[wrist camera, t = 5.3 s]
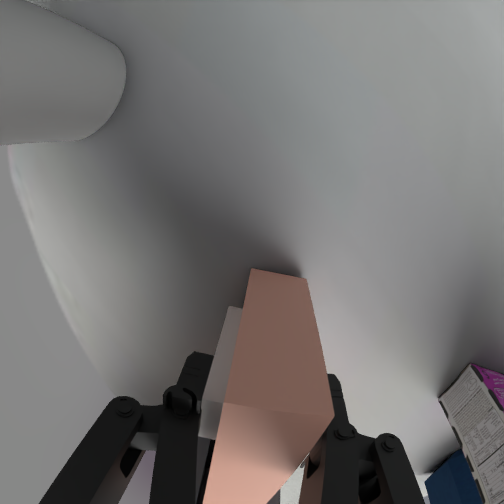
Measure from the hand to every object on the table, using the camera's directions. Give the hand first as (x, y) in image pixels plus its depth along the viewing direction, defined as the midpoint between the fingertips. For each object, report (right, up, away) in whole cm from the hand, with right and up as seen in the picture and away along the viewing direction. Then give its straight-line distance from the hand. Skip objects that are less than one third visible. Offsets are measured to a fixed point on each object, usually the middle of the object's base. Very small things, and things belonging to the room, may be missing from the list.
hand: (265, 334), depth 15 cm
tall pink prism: (-1, -4, +3) cm, 5 cm away
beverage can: (-10, +14, -3) cm, 18 cm away
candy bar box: (+22, -9, +3) cm, 24 cm away
